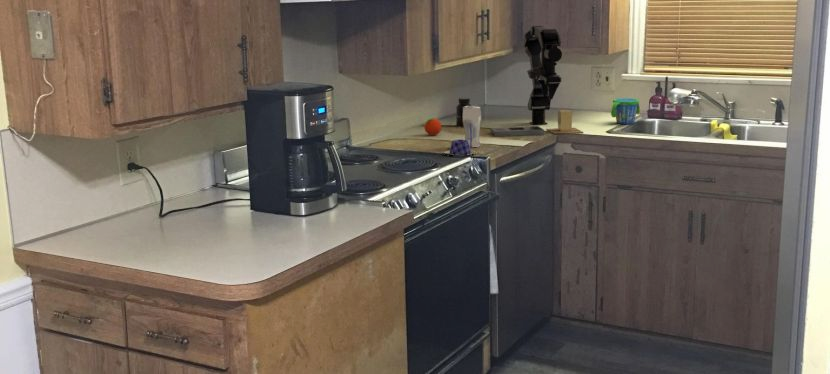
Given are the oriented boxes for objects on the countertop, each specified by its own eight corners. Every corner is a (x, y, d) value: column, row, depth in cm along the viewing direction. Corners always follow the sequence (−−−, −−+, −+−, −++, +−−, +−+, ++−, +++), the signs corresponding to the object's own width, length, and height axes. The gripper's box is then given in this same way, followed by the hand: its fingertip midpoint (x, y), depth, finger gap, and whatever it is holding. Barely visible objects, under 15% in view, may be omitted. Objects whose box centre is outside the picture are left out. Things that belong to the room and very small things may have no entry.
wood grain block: (557, 129, 374) (558, 110, 373) (568, 129, 375) (568, 109, 373) (560, 131, 370) (561, 111, 368) (571, 131, 370) (571, 111, 369)
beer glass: (469, 148, 339) (468, 108, 335) (459, 146, 345) (459, 106, 342) (485, 147, 342) (484, 107, 339) (475, 144, 348) (475, 105, 345)
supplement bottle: (454, 126, 392) (453, 99, 389) (459, 124, 398) (459, 97, 395) (469, 127, 389) (469, 99, 386) (474, 125, 395) (474, 97, 393)
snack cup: (619, 126, 382) (620, 102, 380) (603, 123, 391) (603, 99, 389) (647, 123, 390) (648, 99, 388) (630, 120, 399) (631, 97, 397)
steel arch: (490, 132, 374) (490, 127, 373) (537, 130, 376) (537, 125, 376) (495, 136, 364) (495, 131, 364) (543, 134, 366) (544, 129, 366)
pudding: (453, 151, 337) (452, 137, 336) (482, 153, 331) (482, 139, 330) (437, 156, 327) (437, 142, 326) (467, 159, 321) (467, 144, 320)
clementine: (432, 137, 366) (431, 119, 364) (419, 135, 371) (418, 118, 369) (444, 134, 372) (444, 117, 370) (432, 133, 376) (431, 116, 375)
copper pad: (546, 129, 378) (546, 128, 377) (574, 128, 379) (574, 127, 379) (554, 134, 366) (554, 133, 366) (583, 133, 367) (583, 132, 367)
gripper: (523, 58, 382) (523, 96, 385) (534, 62, 363) (534, 101, 367) (549, 58, 383) (549, 95, 386) (561, 61, 365) (561, 100, 368)
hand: (547, 98), depth 377 cm, fingers open, 9 cm apart
